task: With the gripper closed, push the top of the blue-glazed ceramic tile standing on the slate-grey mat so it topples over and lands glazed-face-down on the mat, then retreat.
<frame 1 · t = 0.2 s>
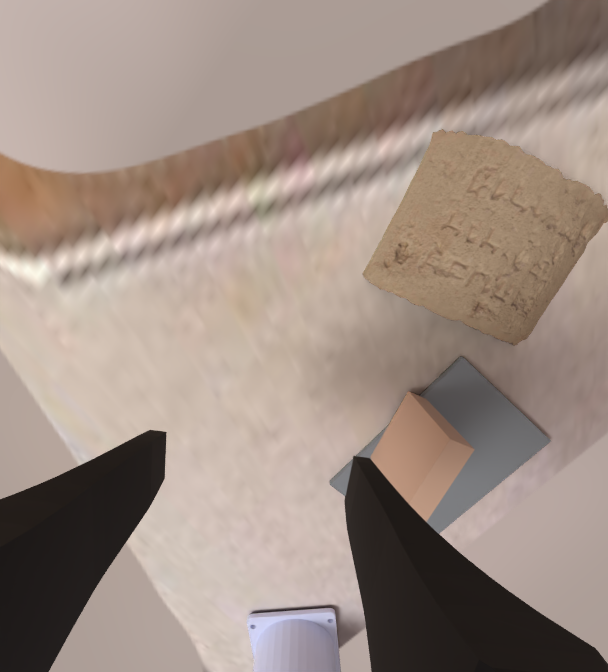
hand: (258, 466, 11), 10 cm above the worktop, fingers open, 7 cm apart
mat: (436, 459, 22), on the worktop
clay tablet: (474, 249, 19), on the worktop
tile: (397, 428, 21), resting on mat
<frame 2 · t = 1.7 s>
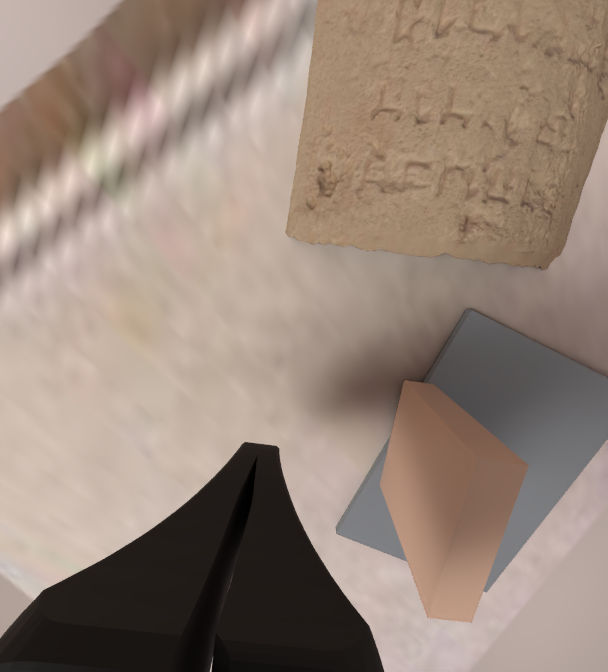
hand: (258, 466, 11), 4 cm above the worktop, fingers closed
mat: (475, 463, 15), on the worktop
clay tablet: (440, 145, 13), on the worktop
tile: (405, 436, 14), resting on mat
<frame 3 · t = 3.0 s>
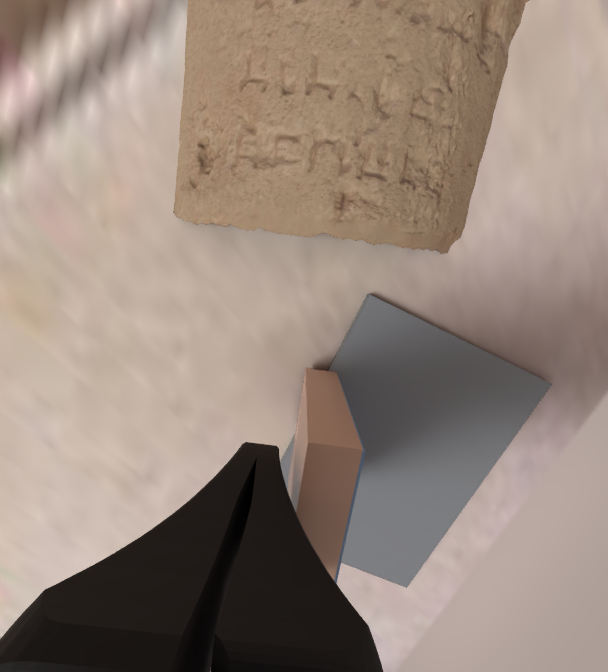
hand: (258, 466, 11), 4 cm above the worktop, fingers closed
mat: (388, 455, 15), on the worktop
clay tablet: (334, 123, 12), on the worktop
tile: (311, 426, 14), resting on mat, touching gripper
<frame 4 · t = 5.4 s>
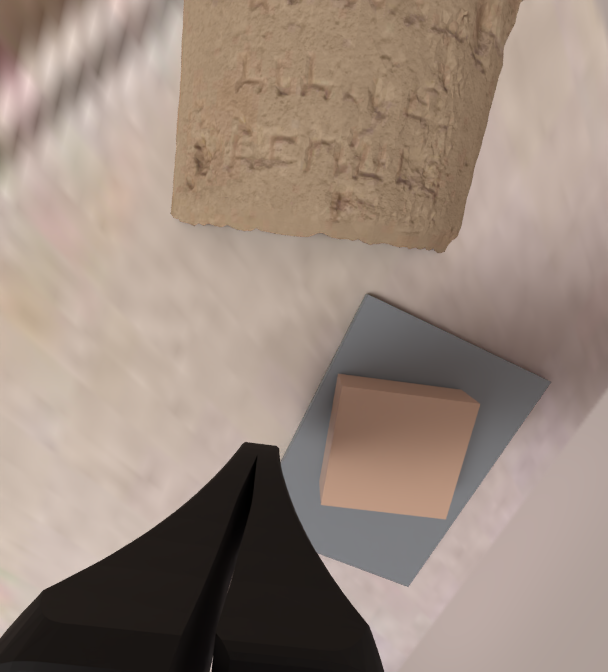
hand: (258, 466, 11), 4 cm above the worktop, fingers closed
mat: (388, 454, 15), on the worktop
clay tablet: (331, 123, 12), on the worktop
tile: (329, 438, 13), point 1 cm above the worktop, tilted 90°, touching mat
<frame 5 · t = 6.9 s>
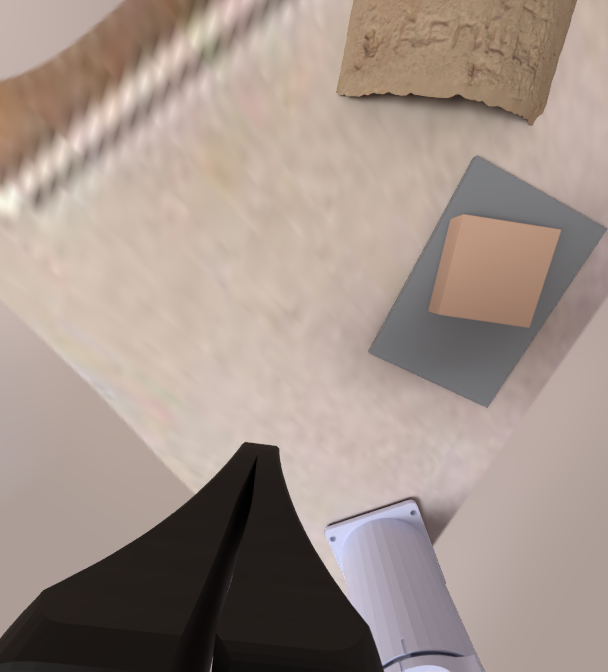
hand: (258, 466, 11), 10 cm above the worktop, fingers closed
mat: (479, 293, 20), on the worktop
clay tablet: (453, 28, 17), on the worktop
tile: (444, 266, 18), point 1 cm above the worktop, tilted 90°, touching mat
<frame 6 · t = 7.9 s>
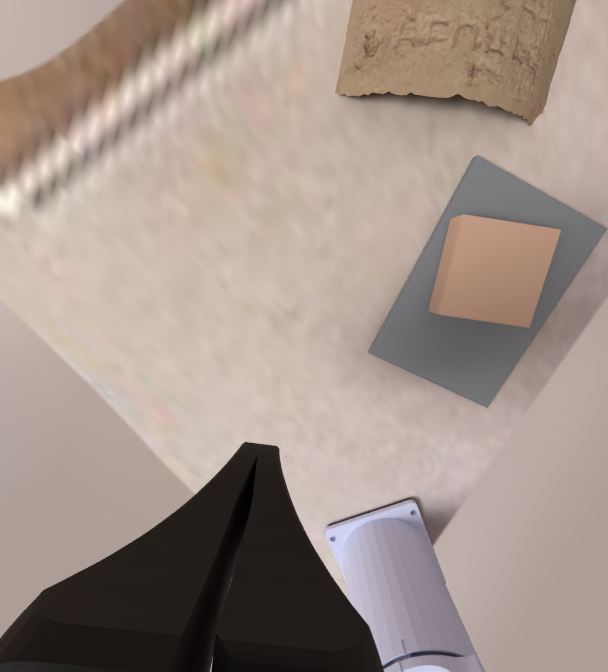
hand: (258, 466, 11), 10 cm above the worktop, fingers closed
mat: (479, 293, 20), on the worktop
clay tablet: (453, 28, 17), on the worktop
tile: (444, 266, 18), point 1 cm above the worktop, tilted 90°, touching mat
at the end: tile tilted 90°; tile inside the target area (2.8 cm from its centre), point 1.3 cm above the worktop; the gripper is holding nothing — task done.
